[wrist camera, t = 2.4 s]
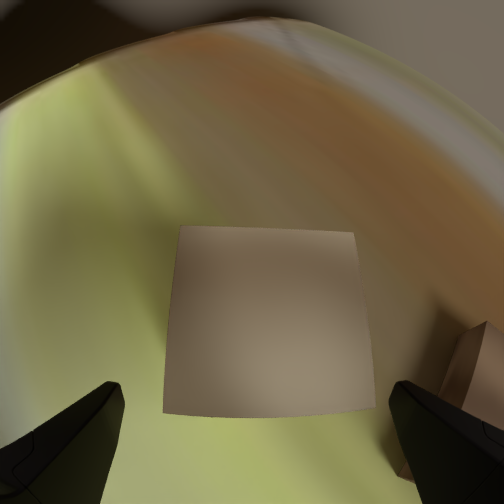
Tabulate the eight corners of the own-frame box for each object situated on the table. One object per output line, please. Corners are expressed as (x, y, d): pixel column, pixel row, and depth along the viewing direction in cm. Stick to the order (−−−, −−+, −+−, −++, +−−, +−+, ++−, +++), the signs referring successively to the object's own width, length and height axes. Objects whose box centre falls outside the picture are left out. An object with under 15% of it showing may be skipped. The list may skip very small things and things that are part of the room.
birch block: (287, 412, 17) (376, 407, 6) (204, 411, 16) (162, 412, 6) (285, 335, 19) (353, 232, 9) (207, 334, 19) (180, 225, 8)
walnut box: (483, 506, 12) (513, 510, 8) (394, 475, 15) (426, 483, 11) (526, 389, 17) (555, 380, 14) (455, 337, 20) (486, 320, 16)
